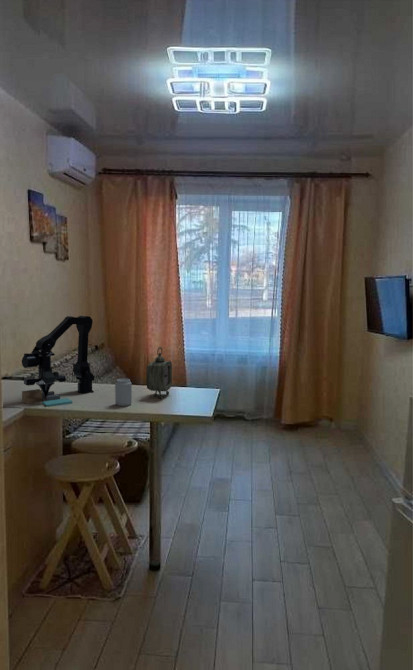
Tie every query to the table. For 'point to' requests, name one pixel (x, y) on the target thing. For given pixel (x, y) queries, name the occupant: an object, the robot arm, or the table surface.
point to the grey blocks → (51, 396)
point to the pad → (57, 402)
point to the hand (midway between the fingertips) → (45, 397)
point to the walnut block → (32, 396)
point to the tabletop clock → (159, 375)
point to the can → (123, 392)
